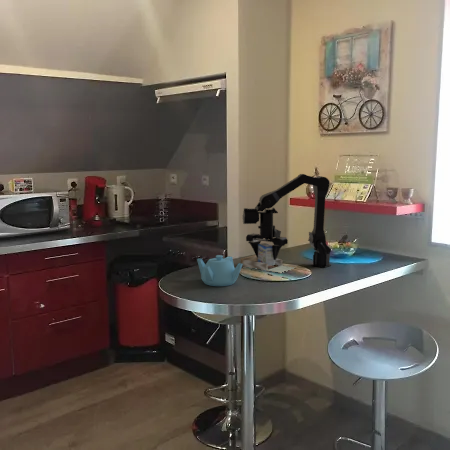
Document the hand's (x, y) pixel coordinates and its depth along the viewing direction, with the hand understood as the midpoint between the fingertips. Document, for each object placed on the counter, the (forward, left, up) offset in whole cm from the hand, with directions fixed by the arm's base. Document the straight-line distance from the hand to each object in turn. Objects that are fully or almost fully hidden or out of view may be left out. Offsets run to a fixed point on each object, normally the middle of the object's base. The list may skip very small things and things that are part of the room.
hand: (266, 258), depth 227 cm
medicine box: (0, 0, -3) cm, 3 cm away
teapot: (-1, +34, -4) cm, 34 cm away
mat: (-8, 0, -4) cm, 9 cm away
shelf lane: (+3, 0, -4) cm, 5 cm away
